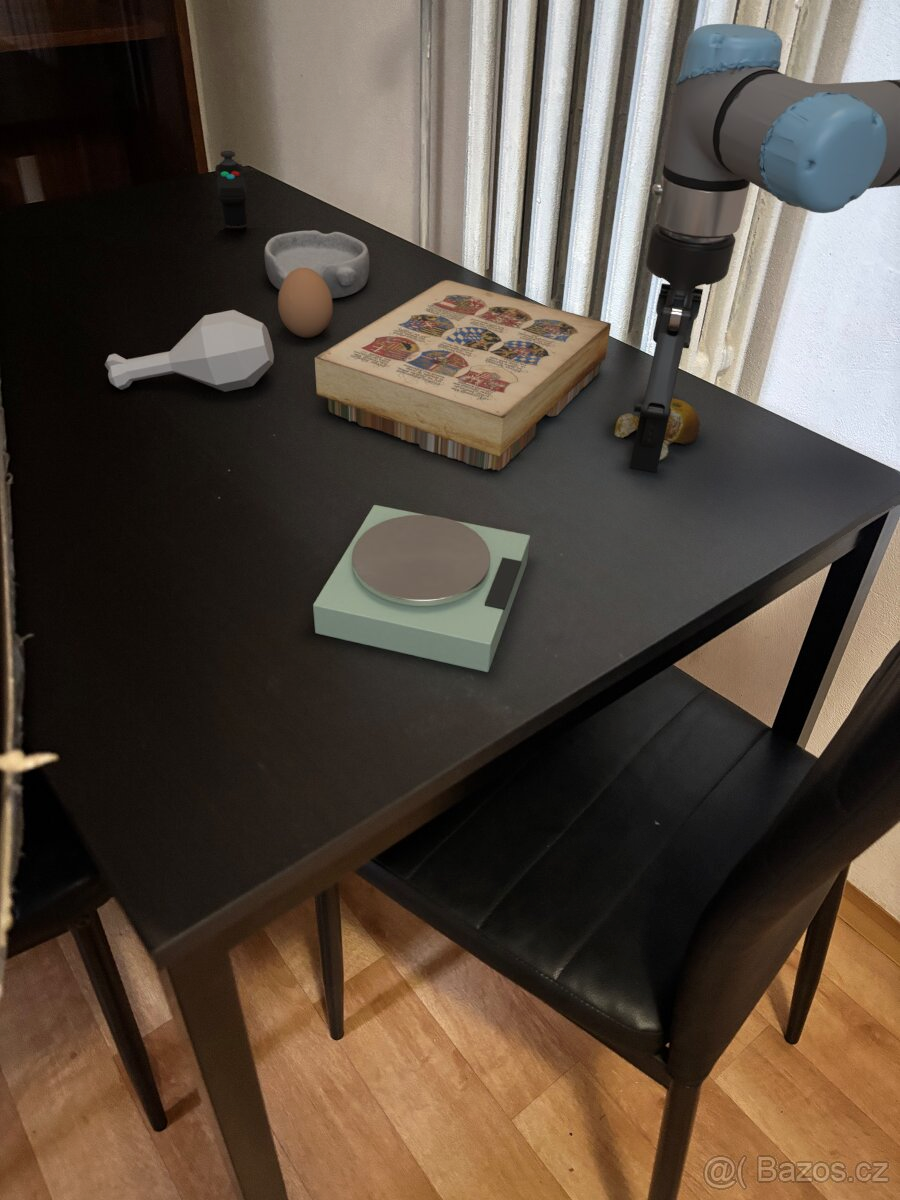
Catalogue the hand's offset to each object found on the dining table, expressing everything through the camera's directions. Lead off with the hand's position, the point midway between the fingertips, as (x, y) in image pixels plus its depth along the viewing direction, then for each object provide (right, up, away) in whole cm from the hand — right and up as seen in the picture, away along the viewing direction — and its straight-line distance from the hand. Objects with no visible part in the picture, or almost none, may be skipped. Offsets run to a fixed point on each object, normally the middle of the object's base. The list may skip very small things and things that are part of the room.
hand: (650, 435), depth 96 cm
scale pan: (-23, -14, -23) cm, 36 cm away
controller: (-53, +38, +42) cm, 78 cm away
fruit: (0, 0, 0) cm, 0 cm away
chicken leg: (-50, +6, +5) cm, 50 cm away
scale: (-23, -17, -21) cm, 35 cm away
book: (-20, +7, +7) cm, 22 cm away
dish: (-39, +26, +28) cm, 55 cm away
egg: (-39, +15, +15) cm, 44 cm away
